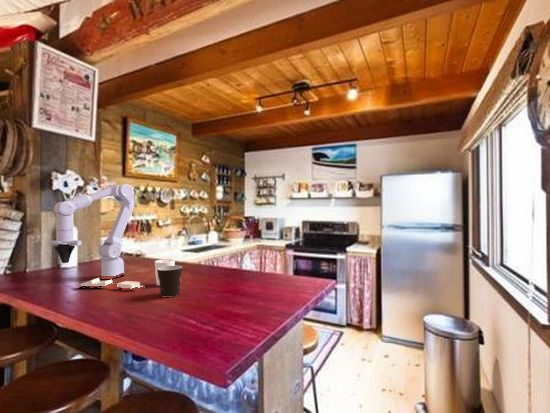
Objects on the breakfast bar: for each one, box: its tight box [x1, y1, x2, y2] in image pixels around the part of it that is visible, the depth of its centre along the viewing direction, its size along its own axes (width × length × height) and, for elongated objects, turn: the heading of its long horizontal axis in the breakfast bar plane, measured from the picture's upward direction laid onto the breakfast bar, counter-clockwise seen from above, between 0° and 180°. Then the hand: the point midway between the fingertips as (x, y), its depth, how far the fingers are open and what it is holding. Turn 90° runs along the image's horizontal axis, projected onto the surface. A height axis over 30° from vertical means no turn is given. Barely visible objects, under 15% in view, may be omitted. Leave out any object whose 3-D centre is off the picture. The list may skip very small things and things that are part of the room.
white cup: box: [154, 258, 176, 286], centre depth 127 cm, size 8×8×10 cm
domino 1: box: [78, 277, 101, 287], centre depth 124 cm, size 4×2×7 cm
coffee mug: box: [157, 265, 183, 297], centre depth 113 cm, size 12×9×10 cm
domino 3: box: [116, 280, 141, 289], centre depth 121 cm, size 4×2×7 cm
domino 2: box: [88, 279, 114, 287], centre depth 124 cm, size 4×2×7 cm
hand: (65, 262), depth 127 cm, fingers closed
